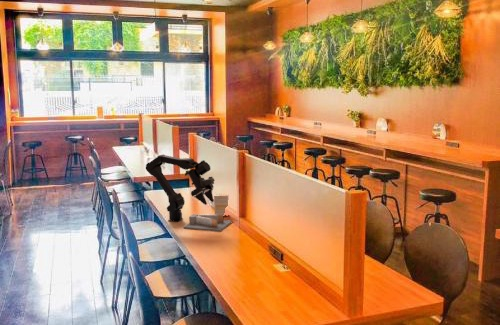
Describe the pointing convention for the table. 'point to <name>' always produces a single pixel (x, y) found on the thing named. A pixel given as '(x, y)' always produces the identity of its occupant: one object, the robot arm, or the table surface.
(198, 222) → the tong leg
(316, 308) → the table surface
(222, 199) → the supplement box
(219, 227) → the tong mat
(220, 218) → the tong leg
